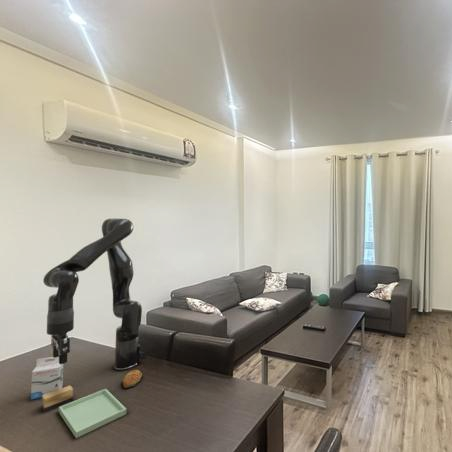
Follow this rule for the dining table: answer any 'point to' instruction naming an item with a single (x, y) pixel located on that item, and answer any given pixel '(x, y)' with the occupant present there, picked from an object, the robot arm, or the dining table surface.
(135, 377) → the pastry
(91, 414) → the tray
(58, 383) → the ink box
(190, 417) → the dining table surface
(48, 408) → the eraser
